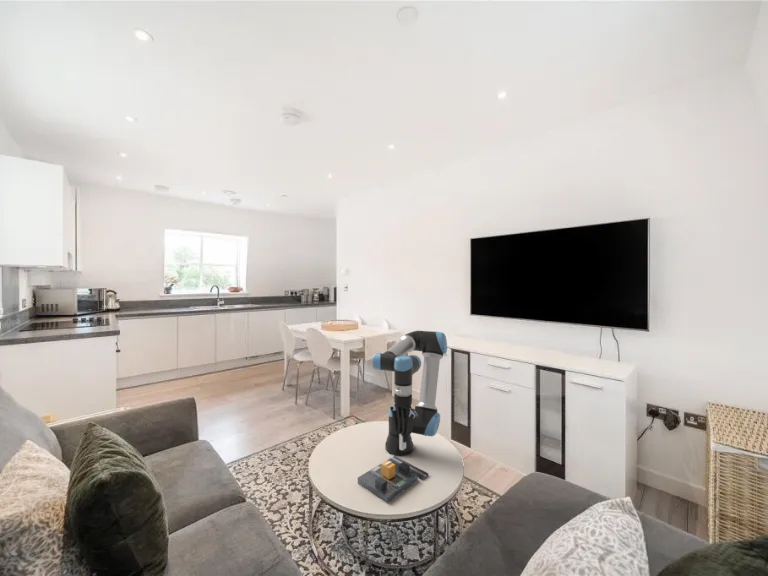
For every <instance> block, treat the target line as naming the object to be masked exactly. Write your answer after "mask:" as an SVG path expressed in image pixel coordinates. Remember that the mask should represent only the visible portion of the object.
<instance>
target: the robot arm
mask: <svg viewBox="0 0 768 576" xmlns="http://www.w3.org/2000/svg"><path fill="white" fill-rule="evenodd" d="M447 341H448V340H447V337H446V334H445V333H444V332H441V331H429V330H414V331H409V332H408V333H406V334H404V335H402V336H401V337H400V338H399V341H398V342H396V343H395V344H394V345H392V346H391V347H390V348H388V349H387V350H386V351H385V352H383V353H382V352H377V353H376V352H375V353H374V354H373V356H372V359H371V366H372V368H373V369H375V370H379V371H385V372H387V371H388V372H393V373H394V374H393V375H394V379H393V380H394V381H393V382H394V383H393V384H394V386H393V387H394V389H393V392H394V395H393V396H394V397H393V403H394V404H392V405H391V406H390V407H389V409H388V434H387V437H386V441H385V444H384V445H385V451H386V453H388V454H389V455H392V456H396V457H405V456H409V455H410V454H412V453H413V452H414V449H415V448H414V442H413V439H412V435H411V434H415V435H421V436H425V437H434V436H436V434H437V432H438V430H439V426H440V422H441V414H440V413H439V412H438V408H437V406H436V399H437V389H438V382H439V370H440V362H441V359H443V358H444V355H445V354H447V351H448V342H447ZM413 351H417V352H421V355H422V356H423V365H422V361H421V358H420V357H419V356H418V355H416V354H410V355H407V354H409V353H412V352H413ZM421 367H422V373H421V381H420V382H421V383H420V389H419V390H420V391H419V398H418V403H416V404H415V407H414V408H412V404H413V375H414V374H415V373H417V372H418V371H419V369H421Z"/></svg>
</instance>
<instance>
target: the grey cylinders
mask: <svg viewBox="0 0 768 576" xmlns="http://www.w3.org/2000/svg"><path fill="white" fill-rule="evenodd" d="M389 460H391V461H393V462H395V463H396V464H398V465H399V464H401V463H405V464H407V465H409V466H410V471H411V472H413V473H415V474H417V475H418V479H421V480H425V479H426V478H427V477H429V473H428V472H427V471H425V470H423V469H421V468H419V467H417V466H416V465H413V464H411V463H410V462H407V461H406V460H404V459H402V458H401V457H399V456H396V455H393V456H391V457H390V458H389Z"/></svg>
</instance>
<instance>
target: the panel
mask: <svg viewBox="0 0 768 576" xmlns="http://www.w3.org/2000/svg"><path fill="white" fill-rule="evenodd" d="M389 459H390V458H389ZM389 459H387V460H388V461H391V460H389ZM391 463H393V464H395V476H394V477H392V478H391V479H387V478H385V477H384V476H382V475H381V463H380V464H378V465H376V466H375V467H373V468H371V469H370V470H368V471H366V472H364V473H363V474H361V475H359V476H358V477H357V484H358V485H360V486H361V487H362V488H364V489H365V490H367V491H368V492H370V493H372V494H373V495H374V496H376V497H377V498H379V499H380V500H382V501H383V502H384V503H387V504H388V503H389V502H391V501H392V500H393V499H395V498H397V497H398V496H399V495H401V494H402V493H403V492H405V491H406V490H408V489H409V488H410V487H412V485H414V484H415V483H417V482H418V481H419V477H418V475H417V474H415V473H413V472H411V471H410V466H409V465H407V464H405V463H401V464H399V465H398V464H396V463H395V462H393V461H391Z"/></svg>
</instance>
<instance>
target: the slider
mask: <svg viewBox="0 0 768 576" xmlns="http://www.w3.org/2000/svg"><path fill="white" fill-rule="evenodd" d="M380 464H381V475H382V476H384V477H385V478H387V479H391V478H392V477H394V476H395V464H393V463H391V461H388V459H386V460H385V461H383V462H382V463H380Z"/></svg>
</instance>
